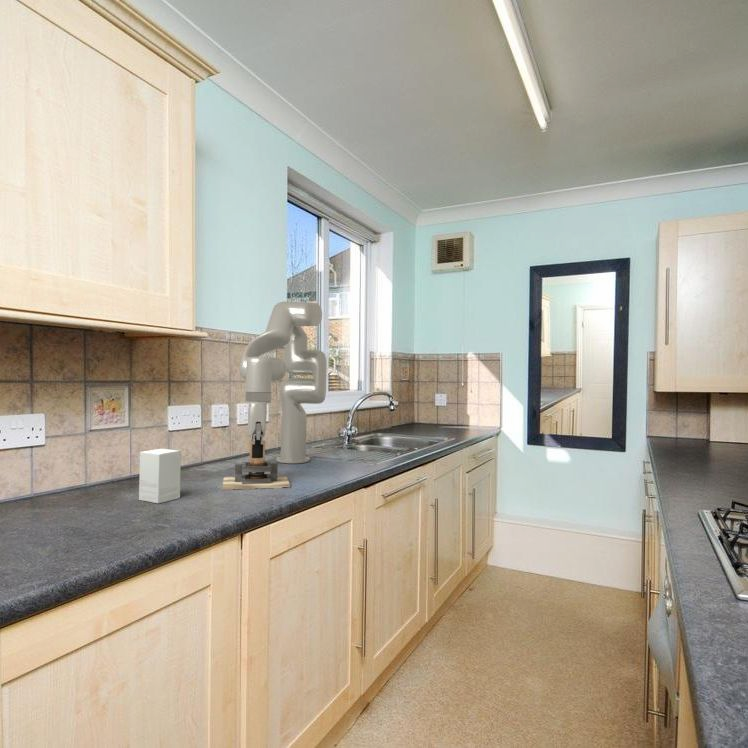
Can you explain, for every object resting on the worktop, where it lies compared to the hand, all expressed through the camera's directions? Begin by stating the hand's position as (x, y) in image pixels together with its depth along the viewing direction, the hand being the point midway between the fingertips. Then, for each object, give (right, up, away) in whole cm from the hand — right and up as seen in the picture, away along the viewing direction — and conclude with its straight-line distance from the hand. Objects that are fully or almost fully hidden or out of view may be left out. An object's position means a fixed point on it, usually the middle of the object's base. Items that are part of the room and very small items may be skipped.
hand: (256, 455), depth 151 cm
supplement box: (-21, -8, -20) cm, 30 cm away
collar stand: (0, -9, 0) cm, 9 cm away
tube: (0, -8, 0) cm, 8 cm away
